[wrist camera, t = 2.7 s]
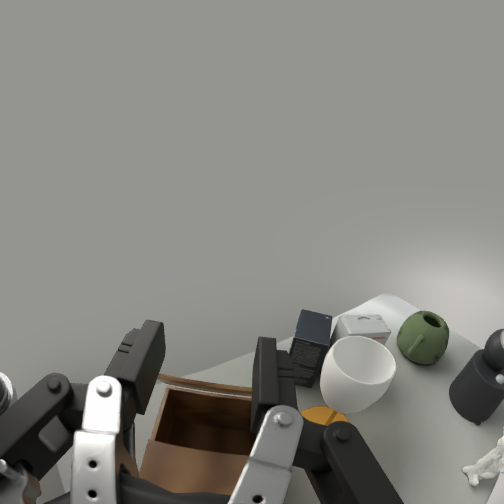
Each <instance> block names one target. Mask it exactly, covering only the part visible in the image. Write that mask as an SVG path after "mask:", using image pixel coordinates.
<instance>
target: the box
mask: <svg viewBox="0 0 504 504" xmlns="http://www.w3.org/2000/svg"><path fill="white" fill-rule="evenodd" d="M331 324H332V316H328V315H324V314H320V313H316V312H312V311H308V310H301V314H300V317H299V320H298V324H297V327H296V330H295V334H294V337H293V341H292V344H291V348H290V351H289V355H290V357H291V359H292V363H293V372H294V381H295V384H297V385H301V386H305V387H310V388H312V386H313V384H314V381H315V379H316V377H317V374H318V372H319V370H320V367H321V365H322V362H323V360H324V358H325V355H326V353H327V350H328V348H329V345H330V332H331Z"/></svg>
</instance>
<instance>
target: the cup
mask: <svg viewBox="0 0 504 504" xmlns="http://www.w3.org/2000/svg"><path fill="white" fill-rule="evenodd" d="M395 372H396V362H395V359H394V357H393V356H392V354H391V352H390V351H389V350H388V349H387V348H386V347H384V346H383V345H382V344H381V343H379V342H377V341H375V340H373V339H371V338H366V337H362V336H347V337H344V338H341V339H339V340H337V341H336V343H335V344H334V345H333V346H332V347H331V349H330V350H329V352H328V353H327V355H326V357H325V360H324V364H323V367H322V372H321V377H320V388H321V392H322V396H323V399H324V401H325V403H326V404H327V405H328V406H329V407H326V406H317V407H311V408H309V409H307V410H305V411H303V412H302V413H301V415H302V416H303V417H305V418H306V419H307V420H309V421H312V422H315V423H318V424H322V425H326V426H328V425H329V424H331V423H332V422H335V421H345V422H349V420H348V419H347V418H346V417H345V416H344V415H343V414H342V413H345V414H351V413H356V412H359V411H362V410H364V409H366V408H367V407H369V406H370V405H372V404H373V403H375V402H376V401H377V400H379V399H380V398H381V397H382V395H383V394H384V393H385V392H386V391H387V389H388V387H389V385H390V383H391V381H392V379H393V377H394V374H395Z"/></svg>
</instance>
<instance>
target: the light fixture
mask: <svg viewBox="0 0 504 504" xmlns="http://www.w3.org/2000/svg"><path fill="white" fill-rule="evenodd" d="M449 395H450V400H451V402H452V404H453V406H454V408H455V409H456V411H457V412H458V413H459V414H460V415H461V416H463V417H464V418H466V419H467V420H469V421H472V422H476V424H477V425H480V424H481V422H483V421H485V420H487V419H488V418H489V417H490V416H491V414H492V413H493V412H494V411H495V409H496V408H497V407H498V406H499V404H500V403H501V402H502V401H503V399H504V329H500V330H497V331H495V332H494V333H493V334H492V335H491V336H490V337H489V339H488V340H487V342H486V345H485V348H484V349H482V350H478V351H477V352H476V353H475V354H474V355H473V357H472V358H471V359H470V361H469V362H468V363H467V365H466V366H465V367H464V369H463V370H462V371H461V372H460V374H459V375H458V376H457V377H456V379H455V380H454V381H453V382H452V384H451V386H450V389H449Z"/></svg>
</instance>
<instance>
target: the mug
mask: <svg viewBox="0 0 504 504" xmlns="http://www.w3.org/2000/svg"><path fill="white" fill-rule="evenodd" d="M448 339H449V328H448V326H447V324H446V322H445V321H444V320H443V319H442V318H441V317H439V316H438V315H436V314H434V313H432V312H429V311H419V312H416V313H414V314H413V315H411V316H410V317H409V318H408V319H407V320H406V321H405V322H404V323H403V325H402V326H401V328H400V330H399V332H398V336H397V345H398V347H399V348H400V350H401V351H402V353H403V354H404V355H405V356H406V357H407V358H408V359H409V360H411V361H413V362H415V363H419V364H424V365H428V364H433V363H435V362H437V361H438V360H439V359H440V358H441V357H442V356H443V354H444V353H445V350H446V348H447V345H448Z"/></svg>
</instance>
